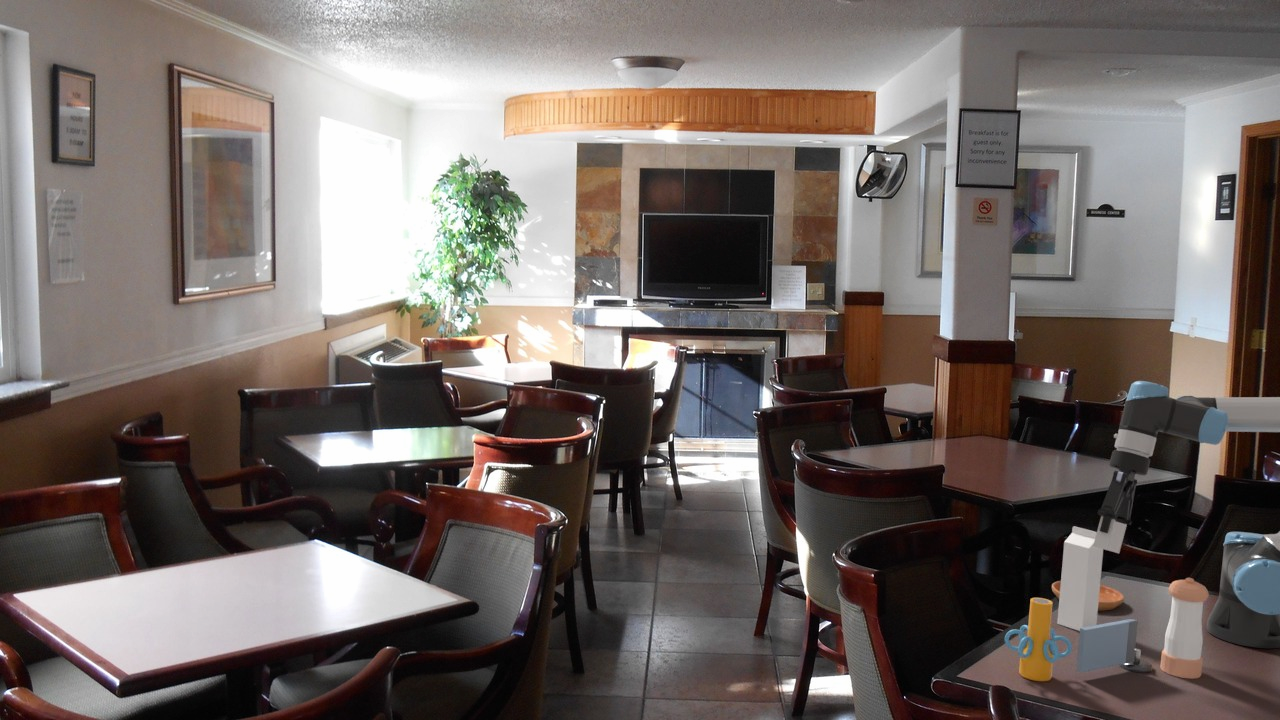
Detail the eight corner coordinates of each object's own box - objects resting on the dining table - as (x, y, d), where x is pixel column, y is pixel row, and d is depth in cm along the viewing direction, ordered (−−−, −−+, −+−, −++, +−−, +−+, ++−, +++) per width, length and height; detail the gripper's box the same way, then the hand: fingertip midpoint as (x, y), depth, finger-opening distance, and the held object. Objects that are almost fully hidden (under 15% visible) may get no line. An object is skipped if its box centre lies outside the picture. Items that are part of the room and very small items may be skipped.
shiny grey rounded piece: (1132, 659, 216) (1134, 642, 216) (1158, 670, 211) (1160, 652, 211) (1112, 663, 214) (1114, 646, 213) (1138, 674, 208) (1140, 657, 208)
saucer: (1122, 598, 257) (1123, 586, 257) (1123, 618, 243) (1124, 605, 242) (1052, 587, 264) (1053, 576, 263) (1048, 606, 249) (1050, 593, 249)
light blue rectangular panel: (1128, 659, 212) (1132, 618, 211) (1133, 661, 211) (1137, 620, 210) (1076, 670, 205) (1079, 627, 204) (1081, 672, 204) (1085, 630, 203)
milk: (1081, 632, 231) (1090, 534, 229) (1056, 623, 236) (1064, 527, 234) (1096, 627, 235) (1105, 530, 233) (1071, 618, 240) (1080, 524, 237)
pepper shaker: (1185, 681, 206) (1194, 585, 204) (1152, 667, 213) (1161, 574, 211) (1209, 675, 209) (1218, 581, 208) (1175, 662, 216) (1184, 571, 214)
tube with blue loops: (1067, 671, 208) (1074, 597, 207) (1070, 691, 199) (1077, 614, 197) (1002, 661, 212) (1008, 588, 211) (1001, 680, 202) (1008, 604, 201)
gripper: (1123, 456, 237) (1099, 547, 236) (1102, 441, 217) (1075, 541, 216) (1159, 464, 233) (1134, 558, 232) (1141, 450, 212) (1114, 552, 211)
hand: (1106, 550), depth 224 cm, fingers open, 13 cm apart
